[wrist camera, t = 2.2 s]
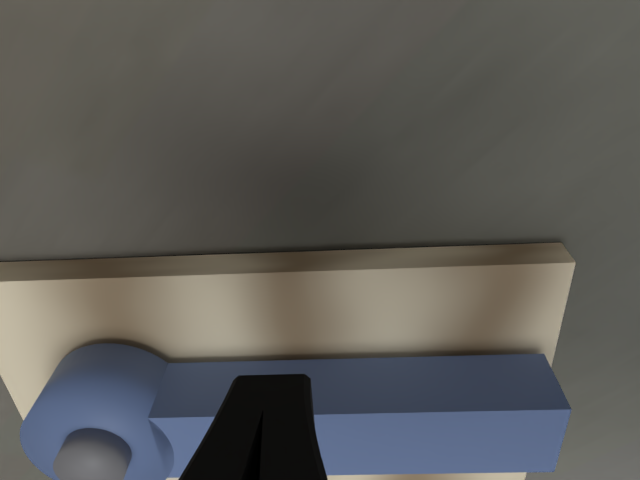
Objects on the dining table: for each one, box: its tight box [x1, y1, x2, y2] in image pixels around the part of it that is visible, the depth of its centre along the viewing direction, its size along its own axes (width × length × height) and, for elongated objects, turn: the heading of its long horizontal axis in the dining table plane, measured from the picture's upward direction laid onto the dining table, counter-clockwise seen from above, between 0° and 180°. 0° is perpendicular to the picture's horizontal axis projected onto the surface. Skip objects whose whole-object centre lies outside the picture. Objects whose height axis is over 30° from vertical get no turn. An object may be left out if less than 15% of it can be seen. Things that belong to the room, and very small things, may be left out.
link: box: [20, 343, 571, 480], centre depth 18 cm, size 18×5×3 cm, turn 93°
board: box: [0, 243, 576, 480], centre depth 23 cm, size 20×20×1 cm
